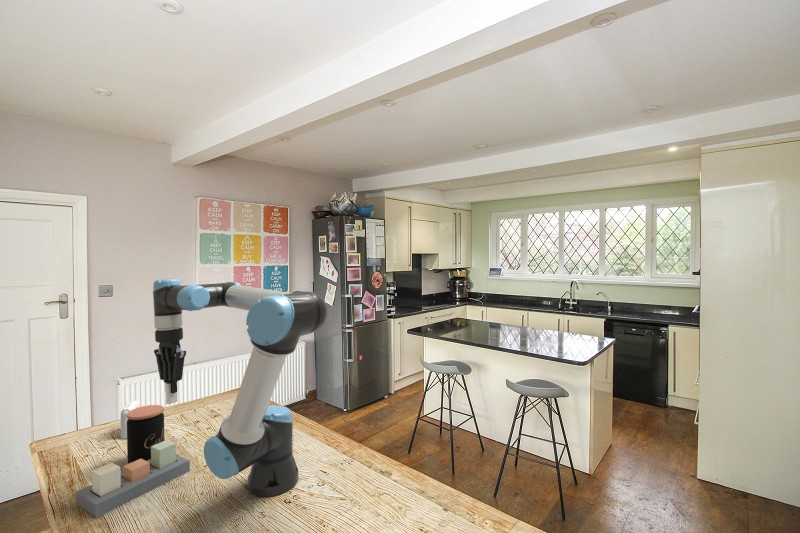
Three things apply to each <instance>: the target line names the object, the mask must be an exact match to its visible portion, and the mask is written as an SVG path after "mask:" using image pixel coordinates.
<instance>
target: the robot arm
mask: <svg viewBox="0 0 800 533" xmlns="http://www.w3.org/2000/svg"><path fill="white" fill-rule="evenodd" d="M181 282H182V281H181V280H180V279H178V278H174V279H173V278H170V279H168V278H167V279H156V280H154V282H153V291H152V294H153V295H152V297H153V314H154V316H153V318H154V320H153V321H154V329H155V330H154V338H155V339H154V341H155V342H156V343H159V344H158V348H156V349H154V350H153V353H154V355H155V359H156V364H157V369H158V375H159V379H160V380H161V381H163V382H164V387H165V388H164V389H165V390H164V391H165V404H166V405H171V404H175V403H178V400H179V399H178V382H179V381H182V380H183V375H184V373H183V372H184V365H185V359H186V358H185V357H186V356H187V350H182V349H181V347H182V346H181V343H180V341H181V340H183V338H184V330H183V327H182V326H183V311H188V312H194V311H201V310H203V309H209V308H214V307H228V308H233V309H238V310H243V311H248V312H247V316H246V319H245V320H246V322H245V324H246V326H247V328H246V332H247V336H249V338H250V340H249V341H250V343H251V345H252V347H253V348H252V352H251V354H250V357H249V359H248V363H247V366H246V368H245V369H246V370H245V372H244V375H243V378H242V380H241V383H240V386H239V388H238V393H237V394H236V398H235V400H234V403H233V406H232V409H231V412H230V415H228V416H226V417H225V418H223V420H222V422H221V423H220V427H219V430H218V432H217V434H216V435H213V436H211V437H210V438H208V439H207V440H206V441H205V443H204V445H203V457H204V461H205V463H206V465H207V467H208V469H209V471H210V472H211V473H212V475H214V476H215V477H217V478H218V479H221V480H228V479H230V478H232V477H234V476H237V475H239V473H241V472H242V471H244V470H246V469H247V468H249V467H251V468H250V472H249V474H248V475H247V476H248V477H247V481H246V482H247V490H248V492H249V493H250V494H252V495H254V496H258V497H271V496H272V497H273V496H279V495H280V494H284V493H286V492H288V491H290V490H291V489H292V488H294V487H295V486H296V485H297V483H298V482H299V477H300V475H299V468H298V465H297V462H296V460H295V457H294V454H293V422H294V420H293V415H292V414H293V412H292V410H291V409H290V408H289V407H287V406H283V405H273V404H271V405H270V402H271V399H272V397H273V393H274V390H275V388H276V386H277V382H278V380H279V377H280V375H281V372H282V369H283V367H284V364H285V362H286V358H287V357H288V356H289V355H291V354H293V353H294V352H295V350H296V348H297V346H298V342H299V339H300V338H301V337H302V336H306V335H309V334H313V333H315V332H317V331H318V330H319V329H321V328H322V326H323V325H324V324H325V322H326V320H327V317H328V306H327V305H328V304H327V303H326V301H325V299H324V298H323V297H322V296H321V295H320V294H319V293H316V292H313V291H301V290H293V291H292V292H287V291H286V292H285V291H279V290H274V289H273V290H272V289H265V288H260V287H254V286H248V285H247V286H246V285H241V283H239V282H233V281H232V282H231V281H228V282H227V281H226V282H217V283H204V284H189V285H187V284H186V285H182V283H181Z"/></svg>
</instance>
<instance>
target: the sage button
mask: <svg viewBox="0 0 800 533" xmlns="http://www.w3.org/2000/svg"><path fill="white" fill-rule="evenodd" d="M176 449H177V448H176V443H175V442H173V441H170V440H167V439H165V441H163V442H161V443H158V444H156V445H153V446H151V465H153V466H155V467H157V468H159V469H161V468H163V467H165V466H168V465H170V464H172V463H174V462H176V455H177V453H176V452H177V451H176Z"/></svg>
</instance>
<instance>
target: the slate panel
mask: <svg viewBox="0 0 800 533" xmlns="http://www.w3.org/2000/svg"><path fill="white" fill-rule="evenodd" d="M147 462H149V463H150V474H149V475H147V476H144V477H142V478H140V479H138V480H136V481H134V482H132V483H131V482H129V481H127V480H125V479H124V478H123V470H122V471H120V473H121V487H120V488H118V489H116V490H114V491H112V492H110V493H107V494H105V495H103V496H101V497H100V496H99V495H97V494H96V493H94V492H92V484H90V485H87V486H86V487H83V488H81V489H79V490H77V491H75V505H77V506H78V507H80V508H82V509H83V510H84V511H86V512H87V511H88V513H89V514H91V516H94V517H95V518H99V517H101V516H103V515H105V514H107V513H109V512H110V511H112V510H114V509H117V508H118V507H121V506H123V505H124V504H126V503H129V502H131V501H132V500H135V499H136V498H138V497H140V496H142V495H145V494H147V493H148V492H151V491H152V490H154V489H156V488H159V487H160V486H162V485H164V484H166V483H169V482H170V481H173V480H174V479H176V478H179V477H181V476H182V475H184V474H186V473H188V472H190V470H191V469H190V468H191V465H190V459H187V458H185V457H183V456H181V455H179V454H176V462H174V463H172V464H170V465H168V466H165V467H163V468H161V469H159V468H157V467H155V466H153V465H151V459H150V460H148V461H147Z"/></svg>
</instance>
